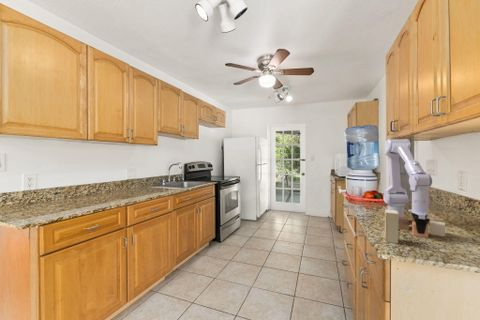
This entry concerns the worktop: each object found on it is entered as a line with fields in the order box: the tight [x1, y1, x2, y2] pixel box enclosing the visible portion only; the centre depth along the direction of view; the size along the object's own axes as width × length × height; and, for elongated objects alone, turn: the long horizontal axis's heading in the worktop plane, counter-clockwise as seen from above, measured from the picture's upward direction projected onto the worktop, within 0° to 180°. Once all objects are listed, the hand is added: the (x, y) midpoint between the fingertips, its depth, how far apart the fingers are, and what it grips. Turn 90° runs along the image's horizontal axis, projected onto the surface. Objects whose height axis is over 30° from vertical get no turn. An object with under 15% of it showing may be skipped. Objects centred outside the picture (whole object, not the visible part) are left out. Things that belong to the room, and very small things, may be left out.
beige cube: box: [429, 220, 446, 237], centre depth 97 cm, size 5×5×5 cm
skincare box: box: [384, 209, 399, 245], centre depth 89 cm, size 6×4×12 cm
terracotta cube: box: [411, 220, 429, 239], centre depth 95 cm, size 5×5×5 cm
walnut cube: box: [398, 216, 410, 231], centre depth 106 cm, size 5×5×5 cm
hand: (420, 231), depth 95 cm, fingers closed on terracotta cube, 5 cm apart
